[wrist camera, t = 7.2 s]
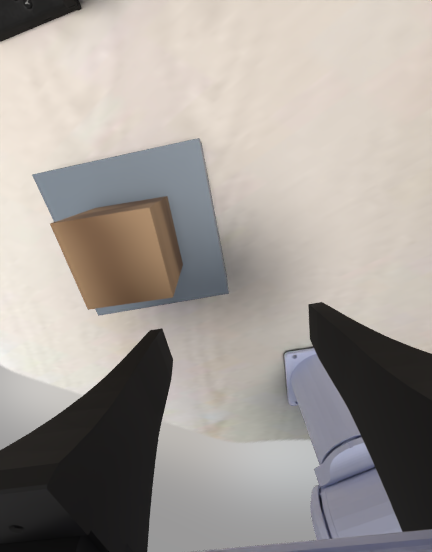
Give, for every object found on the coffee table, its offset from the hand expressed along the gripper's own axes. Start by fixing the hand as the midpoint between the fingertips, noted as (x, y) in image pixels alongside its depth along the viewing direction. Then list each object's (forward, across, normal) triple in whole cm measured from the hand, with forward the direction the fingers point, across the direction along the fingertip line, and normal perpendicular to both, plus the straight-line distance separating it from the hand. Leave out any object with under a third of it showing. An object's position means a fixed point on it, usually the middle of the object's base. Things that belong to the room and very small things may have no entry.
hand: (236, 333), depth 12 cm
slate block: (+11, +6, -4) cm, 13 cm away
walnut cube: (+7, +6, -4) cm, 10 cm away
